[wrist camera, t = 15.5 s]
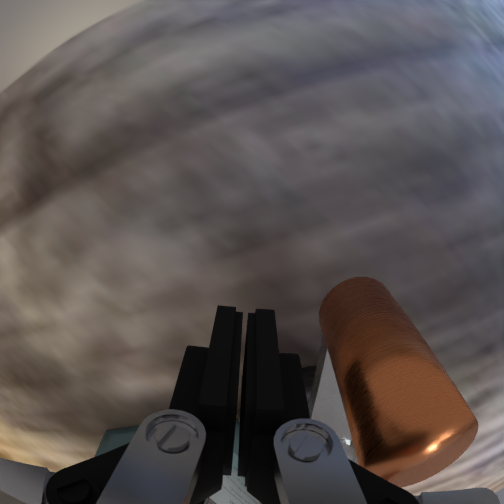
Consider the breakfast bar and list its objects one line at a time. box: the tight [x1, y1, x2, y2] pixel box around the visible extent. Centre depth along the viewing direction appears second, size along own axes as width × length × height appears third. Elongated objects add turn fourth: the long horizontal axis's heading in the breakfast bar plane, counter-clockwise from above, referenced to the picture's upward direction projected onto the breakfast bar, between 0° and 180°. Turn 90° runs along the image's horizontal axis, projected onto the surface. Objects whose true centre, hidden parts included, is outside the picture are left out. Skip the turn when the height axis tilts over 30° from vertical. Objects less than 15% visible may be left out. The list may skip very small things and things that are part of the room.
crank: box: [308, 277, 478, 488], centre depth 10 cm, size 12×4×7 cm, turn 177°
